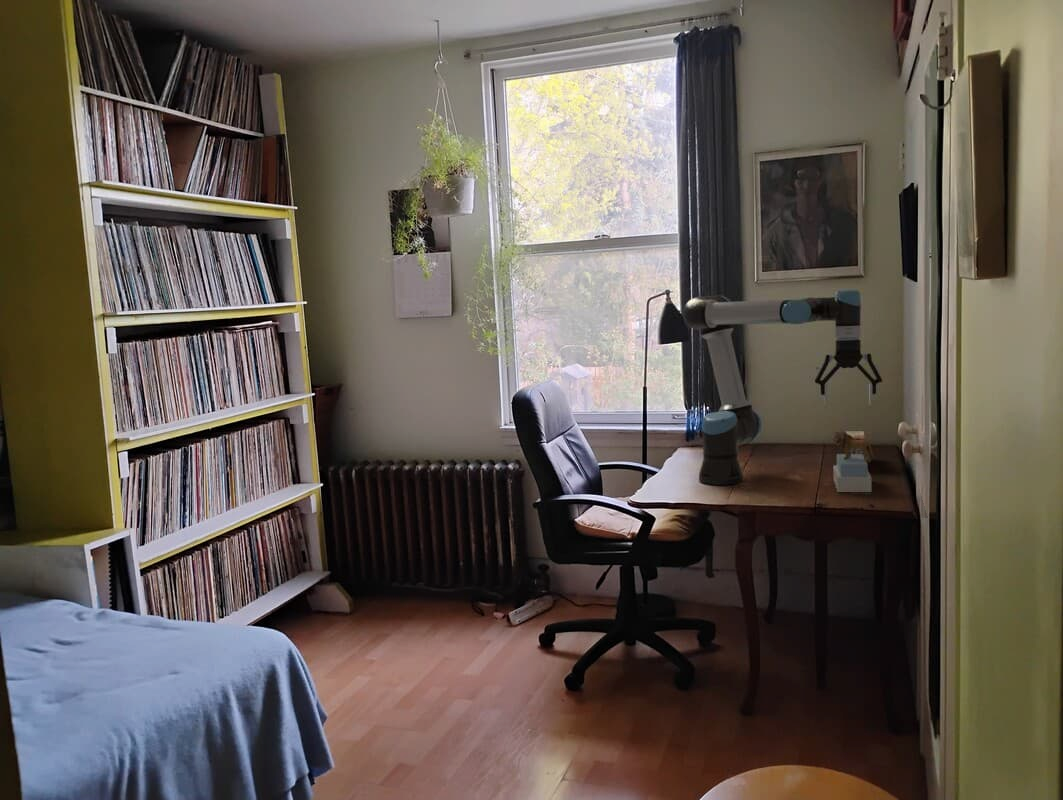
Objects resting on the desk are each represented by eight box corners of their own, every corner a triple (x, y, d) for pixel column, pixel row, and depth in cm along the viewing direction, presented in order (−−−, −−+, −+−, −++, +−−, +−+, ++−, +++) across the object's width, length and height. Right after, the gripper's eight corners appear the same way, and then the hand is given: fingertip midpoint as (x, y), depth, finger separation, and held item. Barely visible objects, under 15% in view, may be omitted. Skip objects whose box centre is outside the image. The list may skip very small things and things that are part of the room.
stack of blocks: (847, 459, 317) (847, 426, 315) (865, 459, 314) (865, 426, 313) (844, 471, 297) (844, 437, 296) (863, 472, 295) (863, 437, 293)
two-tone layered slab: (837, 492, 268) (837, 465, 267) (833, 479, 286) (833, 453, 284) (871, 493, 266) (871, 465, 264) (865, 479, 283) (865, 453, 282)
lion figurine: (830, 458, 277) (830, 431, 276) (837, 455, 280) (837, 429, 279) (875, 463, 266) (875, 435, 265) (882, 460, 270) (882, 432, 269)
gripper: (807, 341, 270) (807, 406, 273) (891, 338, 263) (891, 405, 266) (806, 339, 278) (807, 403, 280) (888, 336, 271) (888, 402, 273)
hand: (848, 404), depth 273 cm, fingers open, 13 cm apart
